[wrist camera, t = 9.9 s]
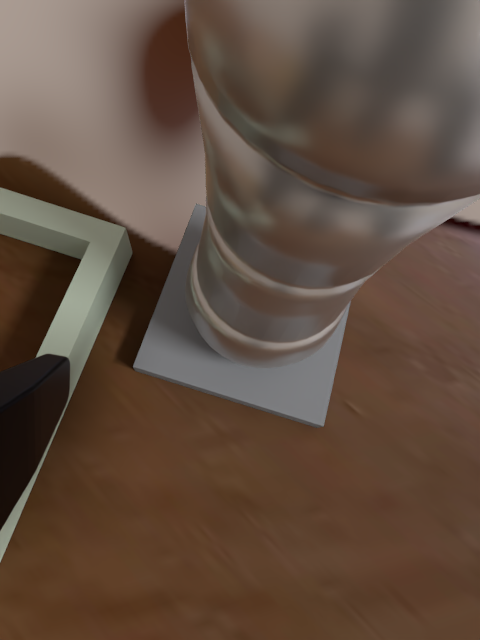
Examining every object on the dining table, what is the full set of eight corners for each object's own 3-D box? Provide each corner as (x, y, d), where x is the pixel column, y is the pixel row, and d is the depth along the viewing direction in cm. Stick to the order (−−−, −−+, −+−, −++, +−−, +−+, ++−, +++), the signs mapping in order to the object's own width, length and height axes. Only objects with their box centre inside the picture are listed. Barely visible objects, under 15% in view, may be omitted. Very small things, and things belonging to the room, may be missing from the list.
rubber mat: (317, 427, 20) (323, 426, 19) (135, 370, 20) (132, 366, 19) (353, 264, 23) (360, 256, 22) (195, 214, 23) (196, 203, 22)
